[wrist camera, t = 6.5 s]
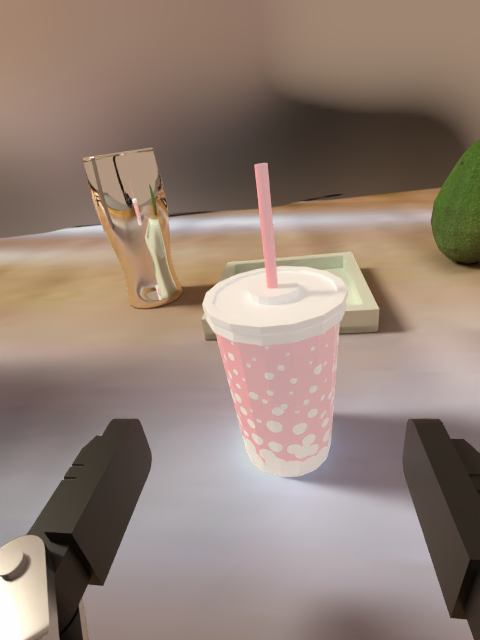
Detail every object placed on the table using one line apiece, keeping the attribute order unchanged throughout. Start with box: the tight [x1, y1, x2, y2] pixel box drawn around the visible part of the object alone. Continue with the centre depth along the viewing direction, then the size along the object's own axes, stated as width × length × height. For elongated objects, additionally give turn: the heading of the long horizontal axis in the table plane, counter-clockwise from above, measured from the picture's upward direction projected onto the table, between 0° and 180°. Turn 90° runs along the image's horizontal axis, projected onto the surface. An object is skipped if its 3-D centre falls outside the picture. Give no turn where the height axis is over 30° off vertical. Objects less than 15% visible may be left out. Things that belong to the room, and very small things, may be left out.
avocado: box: [431, 140, 480, 264], centre depth 35 cm, size 8×8×12 cm
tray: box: [201, 252, 379, 340], centre depth 34 cm, size 14×14×2 cm
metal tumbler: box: [82, 148, 182, 308], centre depth 36 cm, size 7×7×15 cm
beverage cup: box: [202, 163, 348, 477], centre depth 16 cm, size 6×6×14 cm
